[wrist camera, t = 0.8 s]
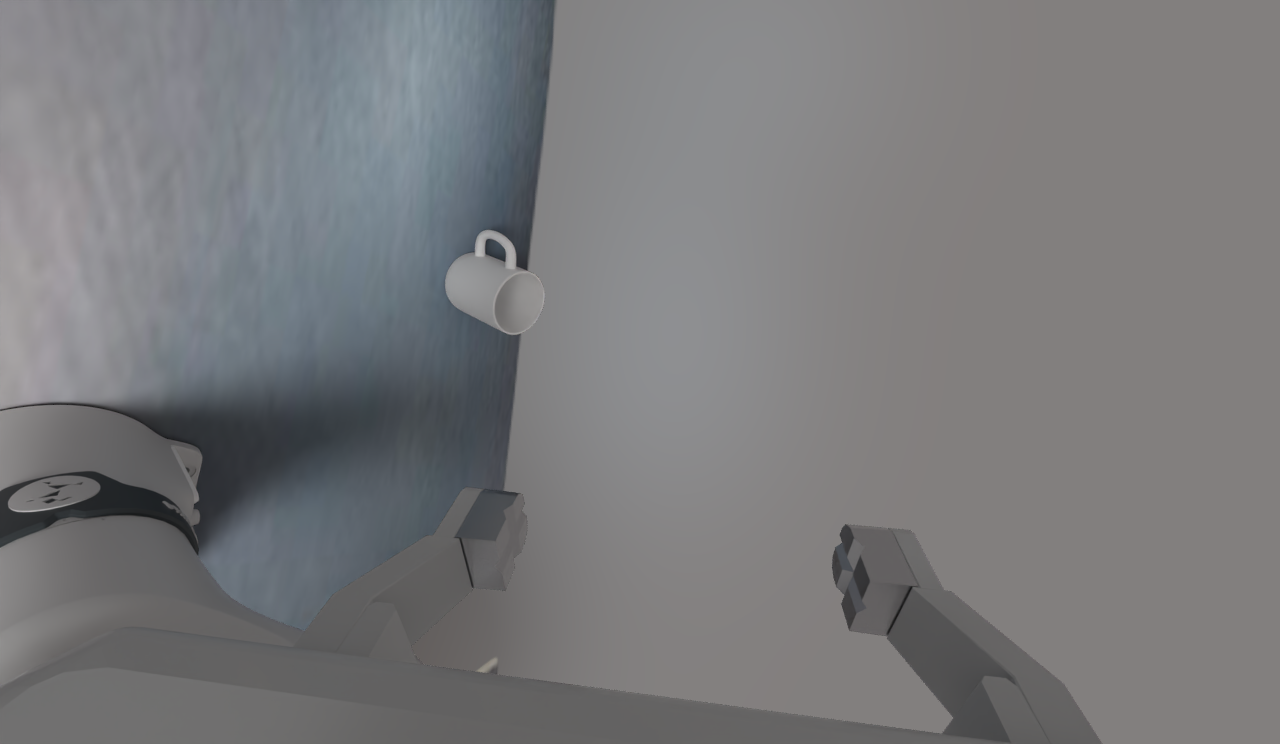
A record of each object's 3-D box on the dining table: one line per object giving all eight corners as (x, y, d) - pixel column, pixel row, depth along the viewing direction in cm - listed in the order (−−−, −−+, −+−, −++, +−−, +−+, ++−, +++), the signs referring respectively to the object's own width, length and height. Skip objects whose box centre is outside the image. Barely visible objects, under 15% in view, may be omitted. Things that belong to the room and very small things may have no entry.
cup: (444, 315, 61) (493, 342, 56) (438, 223, 55) (492, 243, 50) (496, 304, 67) (543, 326, 62) (495, 220, 61) (547, 237, 56)
